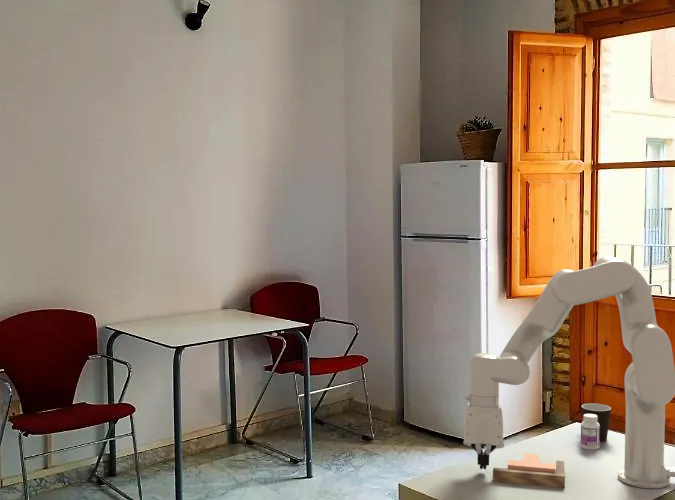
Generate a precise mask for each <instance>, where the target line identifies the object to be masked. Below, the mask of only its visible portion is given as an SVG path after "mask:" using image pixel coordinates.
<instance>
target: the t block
mask: <svg viewBox="0 0 675 500" xmlns="http://www.w3.org/2000/svg"><path fill="white" fill-rule="evenodd" d="M523 455H524V458H523V460H516V459H508V461H507V469H516V470H527V471H538V472H550V473H556V463H551V462H541V461H540V460H541V459H540V457H541V455H540V454H531V453H524V454H523Z"/></svg>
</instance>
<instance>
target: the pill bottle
mask: <svg viewBox="0 0 675 500" xmlns="http://www.w3.org/2000/svg"><path fill="white" fill-rule="evenodd" d="M583 419H584V421H583ZM597 420H598V416H597V415H595V414H584V416H582V422H581V424H580V447H581V448H582V449H586V450H590V451H591V450H593V451H594V450H598V449H600V446H601V445H600V444H601V442H600V424H599V423H598V422H597Z"/></svg>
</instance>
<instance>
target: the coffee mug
mask: <svg viewBox="0 0 675 500" xmlns="http://www.w3.org/2000/svg"><path fill="white" fill-rule="evenodd" d="M580 412H581V416H582V417H583V416H584V414H595V415H597V416H598V420H597V422H598V423H599V424H600V443H605V442H607V439H608V435H609V434H608V432H609V426H610V419H611V412H612V407H610V406H609V405H606V404H601V403H583V404H582V405H581V408H580ZM583 421H584V419H583V418H582V422H583Z"/></svg>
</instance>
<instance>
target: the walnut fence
mask: <svg viewBox="0 0 675 500" xmlns="http://www.w3.org/2000/svg"><path fill="white" fill-rule="evenodd" d="M555 461H556V462H555V473H550V472H538V471H527V470H516V469H508V468H502V467H493V469H492V482H497V483H507V484H517V485H528V486H537V487H549V488H561V489H565V488H566V470H565V461H564V460H555Z"/></svg>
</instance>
